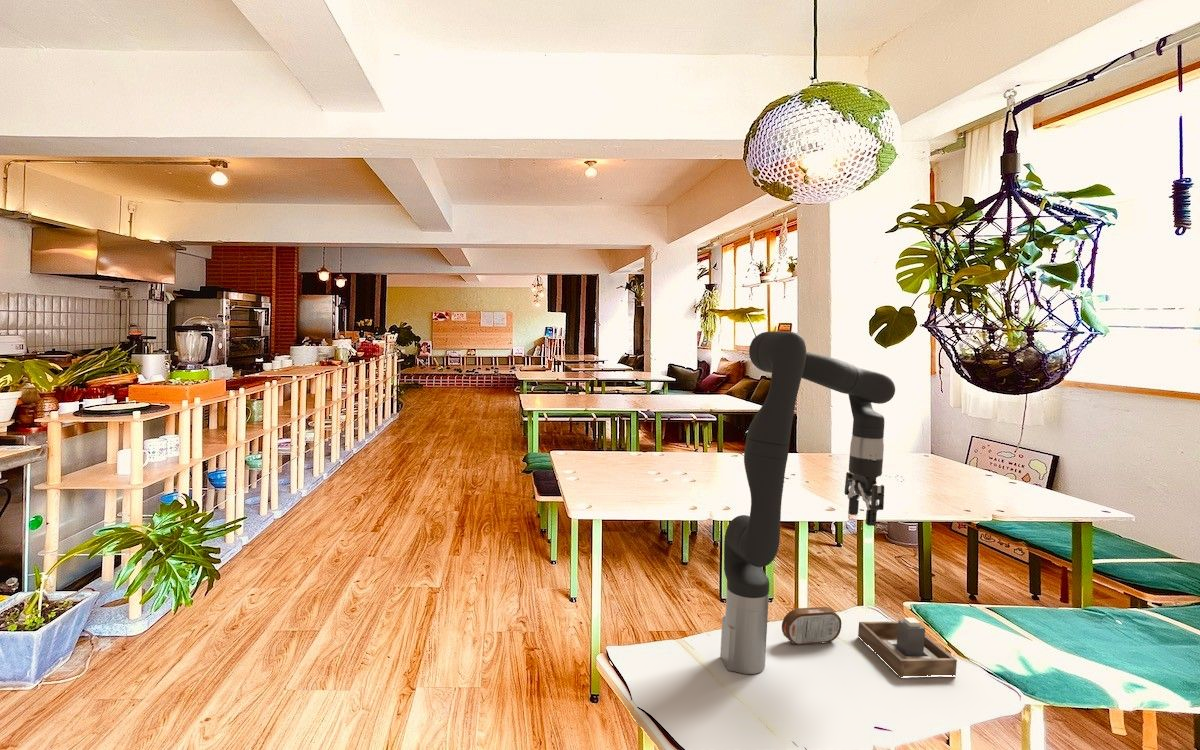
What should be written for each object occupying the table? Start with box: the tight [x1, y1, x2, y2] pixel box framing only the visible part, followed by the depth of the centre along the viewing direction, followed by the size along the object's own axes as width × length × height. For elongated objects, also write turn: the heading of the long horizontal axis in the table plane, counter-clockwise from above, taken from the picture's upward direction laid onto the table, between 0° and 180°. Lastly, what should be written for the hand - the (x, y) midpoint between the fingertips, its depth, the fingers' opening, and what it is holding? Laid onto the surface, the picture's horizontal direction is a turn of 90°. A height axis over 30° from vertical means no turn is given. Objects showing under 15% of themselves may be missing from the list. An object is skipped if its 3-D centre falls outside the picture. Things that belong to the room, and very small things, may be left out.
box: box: [857, 621, 958, 677], centre depth 143 cm, size 13×18×4 cm
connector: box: [896, 617, 926, 657], centre depth 141 cm, size 4×4×9 cm
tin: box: [781, 606, 842, 646], centre depth 148 cm, size 15×3×8 cm, turn 102°
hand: (861, 519), depth 150 cm, fingers open, 8 cm apart
